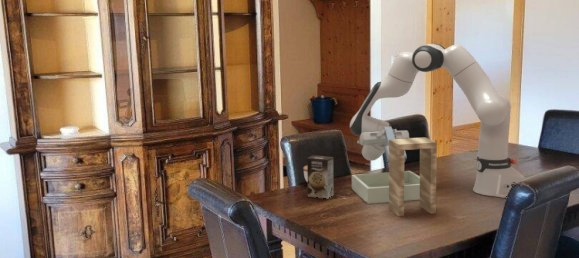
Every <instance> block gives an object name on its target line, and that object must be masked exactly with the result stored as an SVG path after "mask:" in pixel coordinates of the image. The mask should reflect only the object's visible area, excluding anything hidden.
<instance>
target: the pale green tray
mask: <svg viewBox="0 0 579 258" xmlns="http://www.w3.org/2000/svg"><path fill="white" fill-rule="evenodd" d="M351 190H352V191H354V192H355V194H356V195H357V196H359V197H360V198H361V199H362V200H363V201H364V202H365V203H366V204H367V205H369V204H380V203H381V204H382V203H383V204H384V203H389V171H388V172H387V171H386V172H385V171H384V172H374V173H373V172H372V173H360V174H359V173H358V174H351ZM419 195H420V175H418V174H416V173H415V172H413V171H411V170H404V202H407V201H419Z"/></svg>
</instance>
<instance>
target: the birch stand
mask: <svg viewBox="0 0 579 258" xmlns="http://www.w3.org/2000/svg"><path fill="white" fill-rule="evenodd" d="M437 145H438V142H437V141H435V140H432V139H430V138H428V137H424V136H423V137H409V138H407V139H390V140H389V163H388V172H389V202H388V208H389V209H390V211H392V212H393V214H395V215H396V216H397V217H404V216H405V201H404V171H405V162H404V150H405V151H407V150H409V151H410V150H419V176H420V195H419V200H418V201H419V207H421V208H422V210H425V212H427V213H429V214H436V211H437V159H438V158H437V154H438V153H437V151H438V149H437V148H438V146H437Z"/></svg>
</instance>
